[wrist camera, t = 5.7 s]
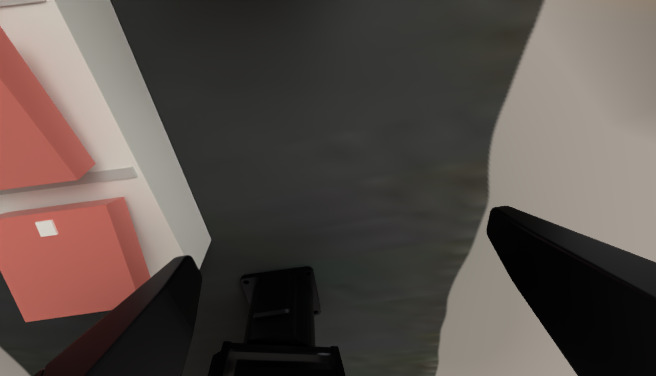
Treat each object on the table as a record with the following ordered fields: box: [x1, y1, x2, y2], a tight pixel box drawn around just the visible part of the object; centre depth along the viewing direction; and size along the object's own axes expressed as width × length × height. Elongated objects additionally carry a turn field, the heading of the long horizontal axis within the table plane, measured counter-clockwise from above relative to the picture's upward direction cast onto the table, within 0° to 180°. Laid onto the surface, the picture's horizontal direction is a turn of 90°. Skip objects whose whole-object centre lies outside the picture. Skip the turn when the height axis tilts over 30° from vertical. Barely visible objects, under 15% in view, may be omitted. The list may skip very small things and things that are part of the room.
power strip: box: [0, 0, 211, 277], centre depth 15 cm, size 28×9×4 cm, turn 6°
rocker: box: [0, 197, 151, 322], centre depth 15 cm, size 6×6×2 cm
